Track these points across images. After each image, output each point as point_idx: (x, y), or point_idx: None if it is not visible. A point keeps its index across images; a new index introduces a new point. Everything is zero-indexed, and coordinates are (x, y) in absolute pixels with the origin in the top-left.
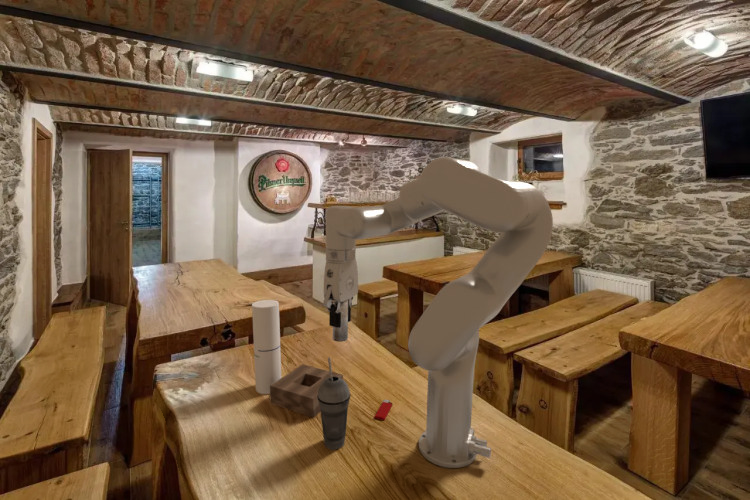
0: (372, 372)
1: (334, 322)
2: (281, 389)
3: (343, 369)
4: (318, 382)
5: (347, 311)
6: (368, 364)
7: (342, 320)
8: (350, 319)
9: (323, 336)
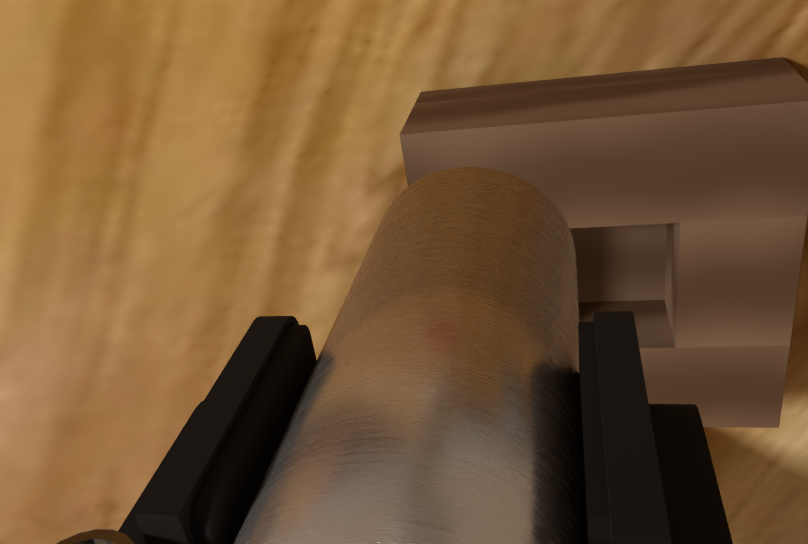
0: (112, 70)
1: (696, 445)
2: (788, 350)
3: (217, 245)
4: (593, 212)
5: (350, 464)
6: (59, 154)
7: (528, 377)
8: (253, 331)
9: (40, 522)
